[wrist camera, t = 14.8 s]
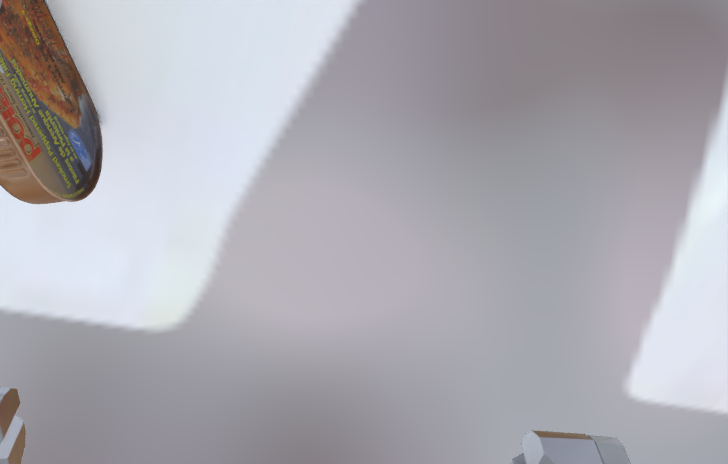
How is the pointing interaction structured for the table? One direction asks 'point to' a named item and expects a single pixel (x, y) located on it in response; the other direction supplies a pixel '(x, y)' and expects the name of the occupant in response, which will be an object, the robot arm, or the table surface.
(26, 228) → the table surface
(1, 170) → the tin
